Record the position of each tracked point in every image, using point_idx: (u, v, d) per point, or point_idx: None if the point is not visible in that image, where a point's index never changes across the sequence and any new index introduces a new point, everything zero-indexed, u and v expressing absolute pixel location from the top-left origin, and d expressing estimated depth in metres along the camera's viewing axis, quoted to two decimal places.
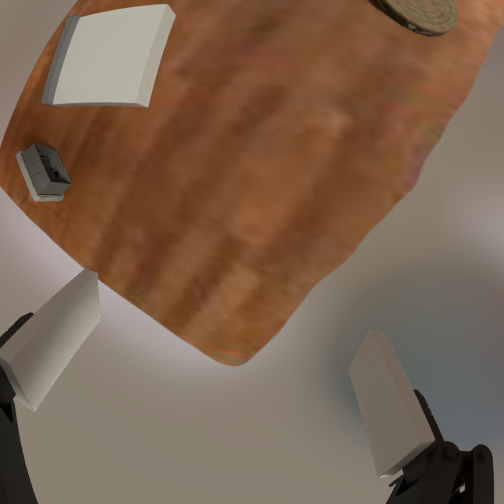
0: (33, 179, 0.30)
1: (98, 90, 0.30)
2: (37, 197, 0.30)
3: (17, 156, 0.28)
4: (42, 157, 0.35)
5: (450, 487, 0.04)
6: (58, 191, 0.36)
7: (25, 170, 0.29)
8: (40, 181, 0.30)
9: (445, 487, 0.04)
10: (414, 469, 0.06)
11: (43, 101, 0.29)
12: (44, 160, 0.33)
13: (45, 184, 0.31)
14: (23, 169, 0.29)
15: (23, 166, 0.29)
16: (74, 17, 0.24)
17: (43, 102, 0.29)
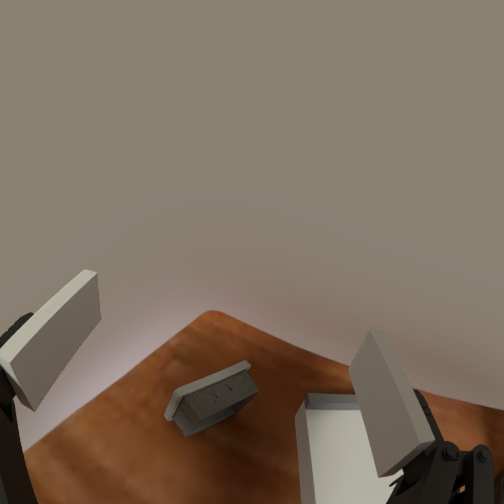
0: (207, 389, 0.25)
1: (330, 477, 0.20)
2: (179, 394, 0.23)
3: (244, 363, 0.28)
4: None
5: (450, 487, 0.04)
6: (179, 418, 0.26)
7: (223, 377, 0.26)
8: (202, 402, 0.24)
9: (445, 487, 0.04)
10: (414, 469, 0.06)
11: (311, 396, 0.29)
12: None
13: (197, 410, 0.23)
14: (225, 373, 0.26)
15: (229, 374, 0.27)
16: None
17: (310, 396, 0.29)
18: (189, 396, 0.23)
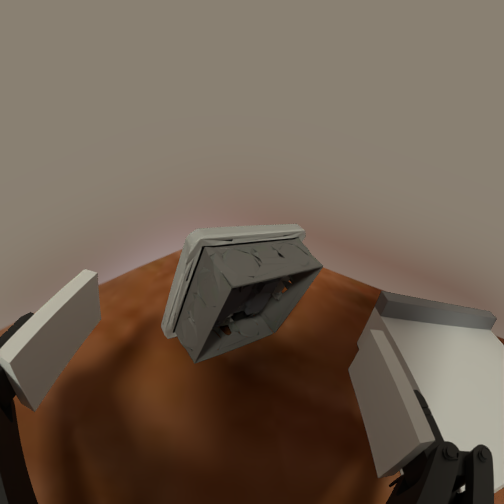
0: (243, 247, 0.16)
1: (449, 405, 0.11)
2: (195, 240, 0.14)
3: (296, 226, 0.20)
4: None
5: (450, 487, 0.04)
6: (186, 322, 0.17)
7: (268, 232, 0.17)
8: (236, 261, 0.15)
9: (445, 487, 0.04)
10: (414, 469, 0.06)
11: (388, 294, 0.20)
12: (265, 298, 0.20)
13: (226, 271, 0.14)
14: (271, 228, 0.18)
15: (277, 231, 0.18)
16: (494, 319, 0.20)
17: (386, 295, 0.20)
18: (213, 249, 0.15)
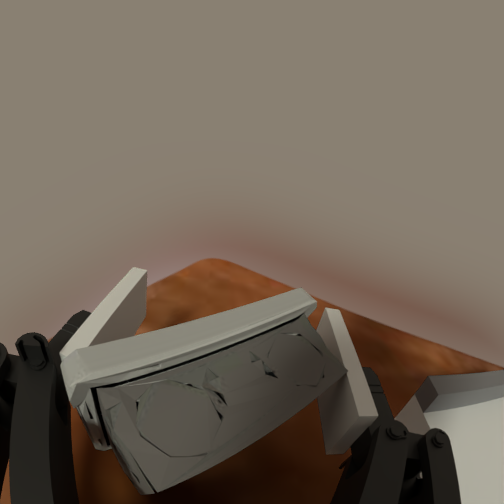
0: (188, 371, 0.07)
1: None
2: (73, 378, 0.05)
3: (301, 294, 0.10)
4: None
5: (401, 468, 0.05)
6: (116, 452, 0.08)
7: (244, 328, 0.08)
8: (168, 418, 0.06)
9: (395, 469, 0.05)
10: (360, 450, 0.07)
11: (437, 382, 0.11)
12: None
13: (143, 452, 0.05)
14: (251, 316, 0.08)
15: (263, 319, 0.09)
16: None
17: (435, 383, 0.11)
18: (116, 392, 0.05)
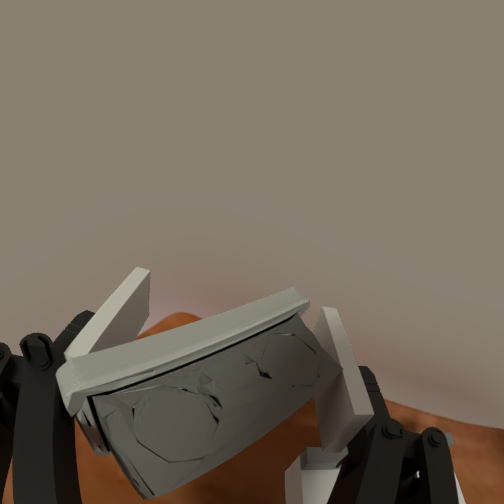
0: (182, 376, 0.07)
1: None
2: (68, 388, 0.05)
3: (294, 294, 0.10)
4: None
5: (398, 467, 0.05)
6: (116, 458, 0.08)
7: (237, 331, 0.08)
8: (164, 423, 0.05)
9: (392, 468, 0.05)
10: (356, 449, 0.07)
11: (312, 452, 0.16)
12: None
13: (141, 458, 0.05)
14: (243, 318, 0.08)
15: (256, 321, 0.08)
16: (451, 444, 0.16)
17: (310, 453, 0.16)
18: (111, 400, 0.05)
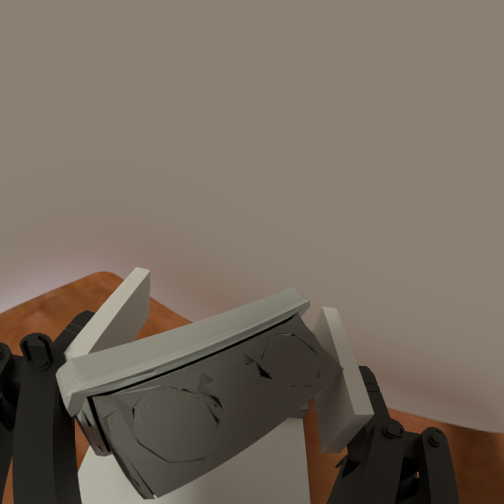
0: (182, 376, 0.07)
1: (102, 480, 0.11)
2: (68, 388, 0.05)
3: (294, 294, 0.10)
4: None
5: (398, 467, 0.05)
6: (116, 458, 0.08)
7: (237, 331, 0.08)
8: (164, 424, 0.05)
9: (392, 468, 0.05)
10: (356, 449, 0.07)
11: None
12: None
13: (142, 459, 0.05)
14: (244, 318, 0.08)
15: (256, 321, 0.08)
16: (302, 409, 0.20)
17: None
18: (111, 400, 0.05)
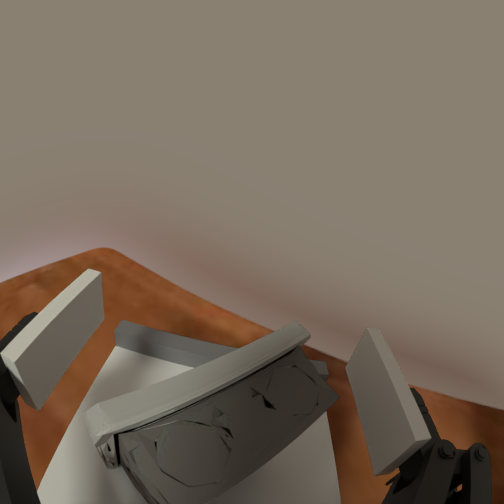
0: (197, 411, 0.07)
1: (86, 457, 0.10)
2: (98, 428, 0.05)
3: (296, 328, 0.11)
4: None
5: (447, 486, 0.04)
6: (129, 473, 0.08)
7: (245, 369, 0.08)
8: (184, 454, 0.06)
9: (442, 486, 0.04)
10: (410, 468, 0.06)
11: (124, 325, 0.19)
12: None
13: (166, 485, 0.05)
14: (251, 356, 0.09)
15: (262, 358, 0.09)
16: (322, 375, 0.19)
17: (122, 324, 0.19)
18: (136, 436, 0.06)
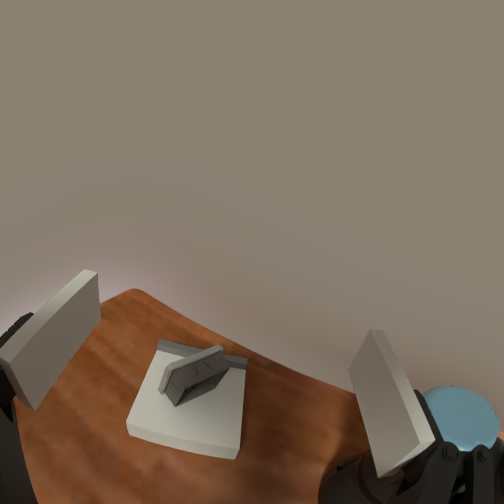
0: (190, 365, 0.34)
1: (151, 392, 0.37)
2: (169, 368, 0.32)
3: (218, 346, 0.38)
4: None
5: (450, 487, 0.04)
6: (169, 391, 0.35)
7: (202, 356, 0.35)
8: (187, 374, 0.33)
9: (445, 487, 0.04)
10: (414, 469, 0.06)
11: (161, 341, 0.46)
12: None
13: (183, 381, 0.32)
14: (204, 353, 0.36)
15: (206, 354, 0.36)
16: (244, 364, 0.46)
17: (160, 341, 0.46)
18: (177, 370, 0.33)
